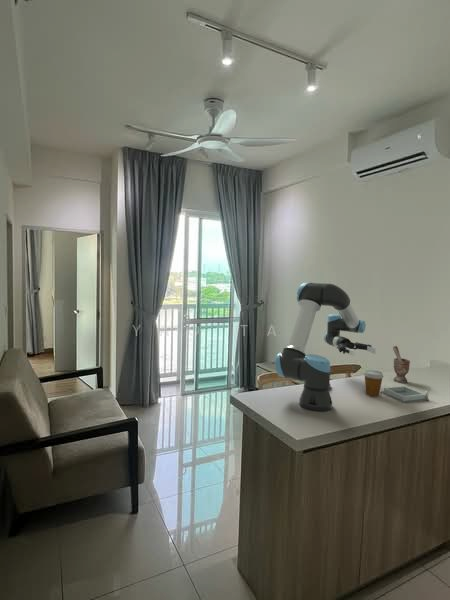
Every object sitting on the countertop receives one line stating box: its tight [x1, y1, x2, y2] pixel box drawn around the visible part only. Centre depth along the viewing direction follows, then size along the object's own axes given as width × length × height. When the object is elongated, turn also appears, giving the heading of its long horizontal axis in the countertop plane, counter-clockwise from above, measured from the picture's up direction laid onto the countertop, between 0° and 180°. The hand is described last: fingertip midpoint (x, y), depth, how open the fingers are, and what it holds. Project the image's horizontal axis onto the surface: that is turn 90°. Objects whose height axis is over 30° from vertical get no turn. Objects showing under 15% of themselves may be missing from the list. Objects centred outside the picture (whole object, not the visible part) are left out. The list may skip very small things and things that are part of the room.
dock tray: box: [380, 385, 430, 404], centre depth 190 cm, size 16×16×5 cm
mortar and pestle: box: [392, 345, 411, 384], centre depth 219 cm, size 12×9×20 cm
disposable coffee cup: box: [363, 369, 384, 398], centre depth 191 cm, size 10×10×12 cm
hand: (364, 352), depth 197 cm, fingers open, 13 cm apart
